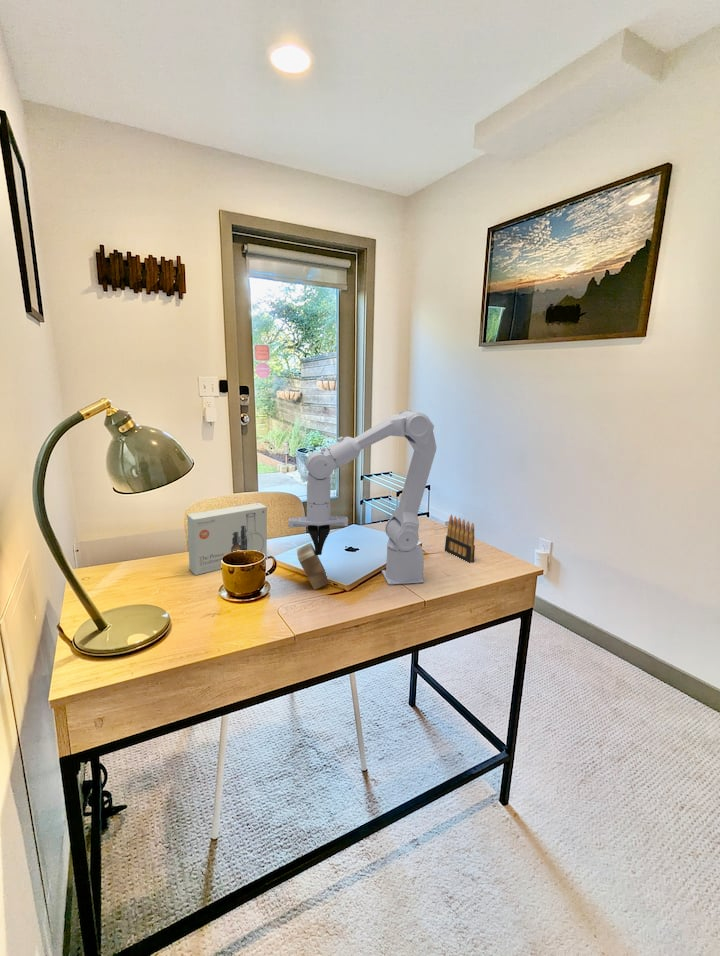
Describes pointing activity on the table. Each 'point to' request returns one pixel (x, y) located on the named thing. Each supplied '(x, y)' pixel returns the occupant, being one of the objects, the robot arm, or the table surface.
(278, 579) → the table surface
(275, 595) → the table surface
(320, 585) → the walnut block
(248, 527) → the skincare box
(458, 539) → the ammunition clip
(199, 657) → the table surface
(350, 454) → the robot arm
